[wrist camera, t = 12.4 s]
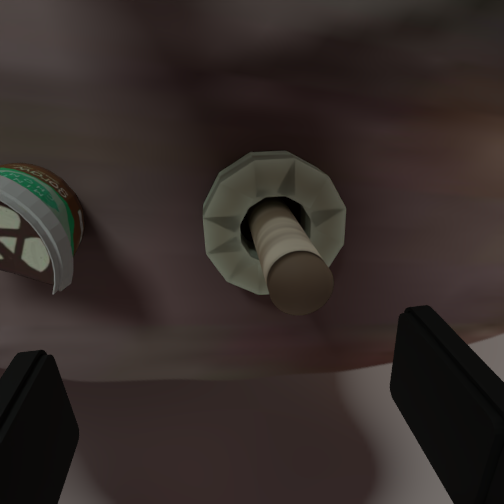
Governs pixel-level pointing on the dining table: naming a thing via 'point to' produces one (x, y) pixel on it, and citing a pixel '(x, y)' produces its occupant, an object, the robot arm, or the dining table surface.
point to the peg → (288, 259)
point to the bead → (254, 190)
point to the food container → (38, 224)
